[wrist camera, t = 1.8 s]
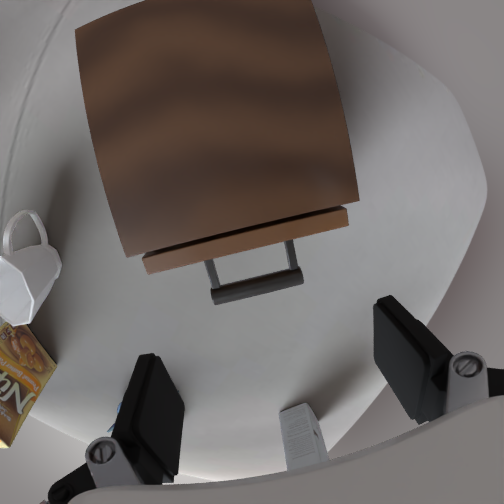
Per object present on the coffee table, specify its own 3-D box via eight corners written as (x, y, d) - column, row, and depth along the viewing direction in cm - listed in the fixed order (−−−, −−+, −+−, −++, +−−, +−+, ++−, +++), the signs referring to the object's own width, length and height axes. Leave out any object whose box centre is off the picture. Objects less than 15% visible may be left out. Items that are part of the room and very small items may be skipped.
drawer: (322, 251, 28) (356, 289, 20) (184, 285, 28) (170, 334, 20) (279, 49, 22) (300, 11, 14) (129, 86, 22) (92, 63, 14)
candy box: (59, 365, 31) (11, 449, 17) (42, 371, 32) (-3, 449, 17) (19, 311, 29) (-48, 384, 14) (4, 321, 29) (-57, 389, 14)
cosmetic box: (319, 421, 38) (341, 488, 26) (291, 433, 38) (306, 500, 27) (305, 399, 36) (328, 473, 24) (274, 412, 36) (289, 487, 25)
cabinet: (314, 182, 27) (360, 201, 17) (159, 220, 27) (126, 258, 17) (276, 26, 22) (301, -27, 12) (121, 64, 22) (74, 29, 12)
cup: (26, 284, 28) (-11, 318, 20) (21, 200, 25) (-27, 217, 17) (74, 296, 29) (40, 335, 21) (72, 205, 25) (26, 226, 18)
